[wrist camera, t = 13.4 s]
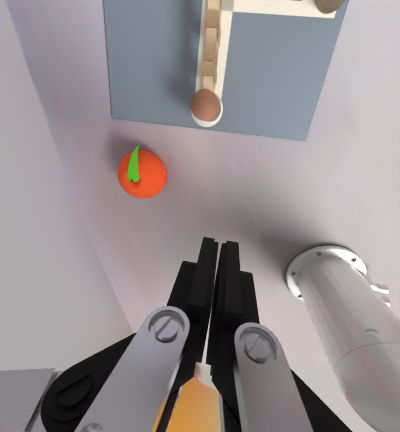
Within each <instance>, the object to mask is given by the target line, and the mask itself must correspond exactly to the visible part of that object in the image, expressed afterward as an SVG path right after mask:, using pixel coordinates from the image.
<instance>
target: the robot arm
mask: <svg viewBox="0 0 400 432" xmlns="http://www.w3.org/2000/svg"><path fill="white" fill-rule="evenodd" d="M214 240H215V239H213V238H207V237H204V238H203V241H202V245H201V249H200V253H199V257H198V261H197V263H193V262H188V261H183V262H182V264H181V267H180V270H179V273H178V276H177V278H176V281H175V284H174V287H173V289H172V292H171V295H170V298H169V300H168V303H167V306H163V307H160V308H157V309H155V310H154V311H152V312H151V313H150V314H149V315H148V316H147V318H146V319H145V321H144V322H143V324H142V325H141V327H140V328H139V330H138V332H136V333H134V334H132V335H130V336H129V337H127V338H125V339H123V340H121V341H119V342H117V343H115V344H113V345H111V346H109V347H108V348H106V349H104V350H102V351H100V352H98V353H96V354H94V355H93V356H91V357H89V358H87V359H85V360H83V361H81V362H79V363H77V364H75V365H74V366H72V367H70V368H69V369H67V370H66V371H59V372H56V369H55V368H51V369H30V370H9V371H0V432H168V430H169V426H170V423H171V420H172V417H173V414H174V411H175V408H176V405H177V402H178V399H179V395H180V392H181V389H182V385H184V384H185V383H186V382H187V381H189V380H190V379H191V378H192V377H194V370H195V364H196V362H199V363H201V362H202V357H203V351H204V346H205V340H206V335H207V329H208V324H209V319H210V313H211V319H210V328H209V338H208V347H207V356H206V364H208V365H211V371H210V375H212V382H213V383H214V385H215V387H216V388H217V390H218V391H219V405H220V420H221V432H352V431H351V430H350V429H349V428H348V427H347V426H346V425H345V424H344V423H343V422H342V421H341V420H340V419H339V418H338V417H337V416H336V415H335V414H334V413H333V412H332V411H331V409H330V408H328V406H327V405H326V404H325V403H324V402H323V401H322V400H321V399H320V398H319V397H318V396H317V395H316V394H315V393H314V392H313V391H312V390H311V389H310V388H309V387H308V386H307V385H306V384H305V383H304V382H303V381H302V380H301V379H300V378H299V377H298V376H297V375H296V374H295V373H294V372H293V371H292V370H291V369H290V367H289V364H288V362H287V359H286V356H285V354H284V351H283V348H282V346H281V344H280V342H279V340H278V338H277V337H276V336H275V335H274V333H273V332H272V331H270V330H269V329H268V328H267V327H265V326H263V325H261V324H260V322H259V315H258V309H257V302H256V295H255V288H254V281H253V275H252V273H250V272H244V271H240V260H239V244H238V242H232V241H227V242H226V244H225V243H222V246H221V251H220V257H219V262H218V268H217V273H216V279H215V271H216V262H217V253H218V243H219V242H214ZM366 275H367V271H366V267H365V265H364V263H363V261H362V260H361V259H360V258H359V257H358V256H357V255H356V254H355V253H354V252H352V251H350V250H348V249H346V248H343V247H339V246H319V247H315V248H312V249H309V250H307V251H305V252H303V253H301V254H300V255H298V256H297V257H296V258H295V259H294V260H293V261H292V262H291V264H290V265H289V267H288V269H287V273H286V281H287V284H288V287H289V289H290V291H291V292H292V294H293V295H294V296H295V297H297V298H298V299H300V300H302V301H303V302H304V303H305V305H306V307H307V310H308V312H309V314H310V317H311V319H312V322H313V324H314V326H315V329H316V331H317V334H318V336H319V338H320V341H321V343H322V346H323V348H324V350H325V353H326V355H327V358H328V360H329V362H330V365H331V367H332V369H333V372H334V374H335V377H336V379H337V382H338V384H339V386H340V389H341V391H342V393H343V395H344V396H345V398H346V400H347V401H348V403H349V404H350V406H351V407H352V408H353V410H355V412H356V413H357V414H358V415H359V416H360V417H361V418H362V419H363V420H364V421H365V422H366V423H367V424H368V425H370V426H371V427H372V428H373V429H374V430H376V431H377V432H400V319H399V318H398V316H397V315H396V314H395V313H394V312H393V311H392V310H391V308H390V300H389V299H388V298H387V297H386V296H381V295H378V294H377V293H382V294H387V293H388V291H389V289H388V287H387V286H386V285H381V284H373V283H372V282H371V281H370V280H369V279H368V277H367V276H366ZM214 280H215V285H214ZM213 290H214V291H213ZM212 299H213V300H212ZM211 307H212V310H211Z"/></svg>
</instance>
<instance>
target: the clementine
mask: <svg viewBox="0 0 400 432" xmlns="http://www.w3.org/2000/svg"><path fill="white" fill-rule="evenodd" d="M139 145H140V144H139ZM139 145H138V146H137V147H136V148H135V150H134V151H133V152H130V153H129V154H127V155H126V156H125V157H124V158H123V159H122V160H121V162H120V165H119V167H118V179H119V182H120V184H121V186H122V187H123V189H124V190H125V191H126V192H127V193H128V194H130V195H132V196H134V197H138V198H150V197H153V196H155V195H156V194H158V193H159V192H160V191H161V190H162V189H163V187H164V185H165V183H166V179H167V172H166V168H165V165H164V164H163V162H162V160H161V159H160V158H159V157H158V156H157V155H155V154H153V153H152V152H149V151H145V150H138V148H139Z"/></svg>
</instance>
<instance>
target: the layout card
mask: <svg viewBox="0 0 400 432" xmlns="http://www.w3.org/2000/svg"><path fill="white" fill-rule="evenodd" d="M103 1H104V15H105V28H106V42H107V55H108V69H109V82H110V96H111V109H112V118H114V119H123V120H131V121H140V122H148V123H156V124H165V125H173V126H182V127H190V128H198V129H207V130H215V131H224V132H232V133H241V134H249V135H257V136H266V137H274V138H283V139H291V140H299V141H306V138H307V134H308V131H309V128H310V125H311V121H312V118H313V115H314V112H315V109H316V105H317V102H318V99H319V96H320V92H321V89H322V86H323V83H324V80H325V76H326V73H327V70H328V67H329V64H330V60H331V57H332V54H333V51H334V47H335V44H336V41H337V38H338V35H339V31H340V28H341V25H342V22H343V18H344V15H345V12H346V9H347V6H348V2H349V0H345V1H344V3H343V4H342V5H341V6H340V7H339V8H338V9H337V10H336V11H334V12H332V13H330V14H323V13H321V12H320V11H319V10H318V9H317V6H316V0H302V1H294V0H223V3H222V15H221V27H220V29H221V37H220V45H219V51H218V62H217V83H216V86H215V95H216V97H217V99H218V101H219V103H220V106H221V112H220V115H219V117H218V118H217V119H216V120H215V121H212V122H207V121H203V120H199V119H197V118H196V117H195V116H194V115H193V113H192V111H191V99H192V97H193V95H194V94H195V93H196V92H197V91H198V90H200V89H203V76H202V69H203V61H204V60H205V44H206V28H205V18H206V10H208V0H103Z"/></svg>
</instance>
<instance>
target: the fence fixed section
mask: <svg viewBox="0 0 400 432" xmlns="http://www.w3.org/2000/svg"><path fill="white" fill-rule="evenodd" d="M294 1H302V0H294ZM344 1H345V0H316V6H317V9H318V10H319V11H320V12H321V13H323V14H330V13H332V12H334V11H336V10H337V9H338V8H339V7H340V6H341V5H342V4H343V3H344Z"/></svg>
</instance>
